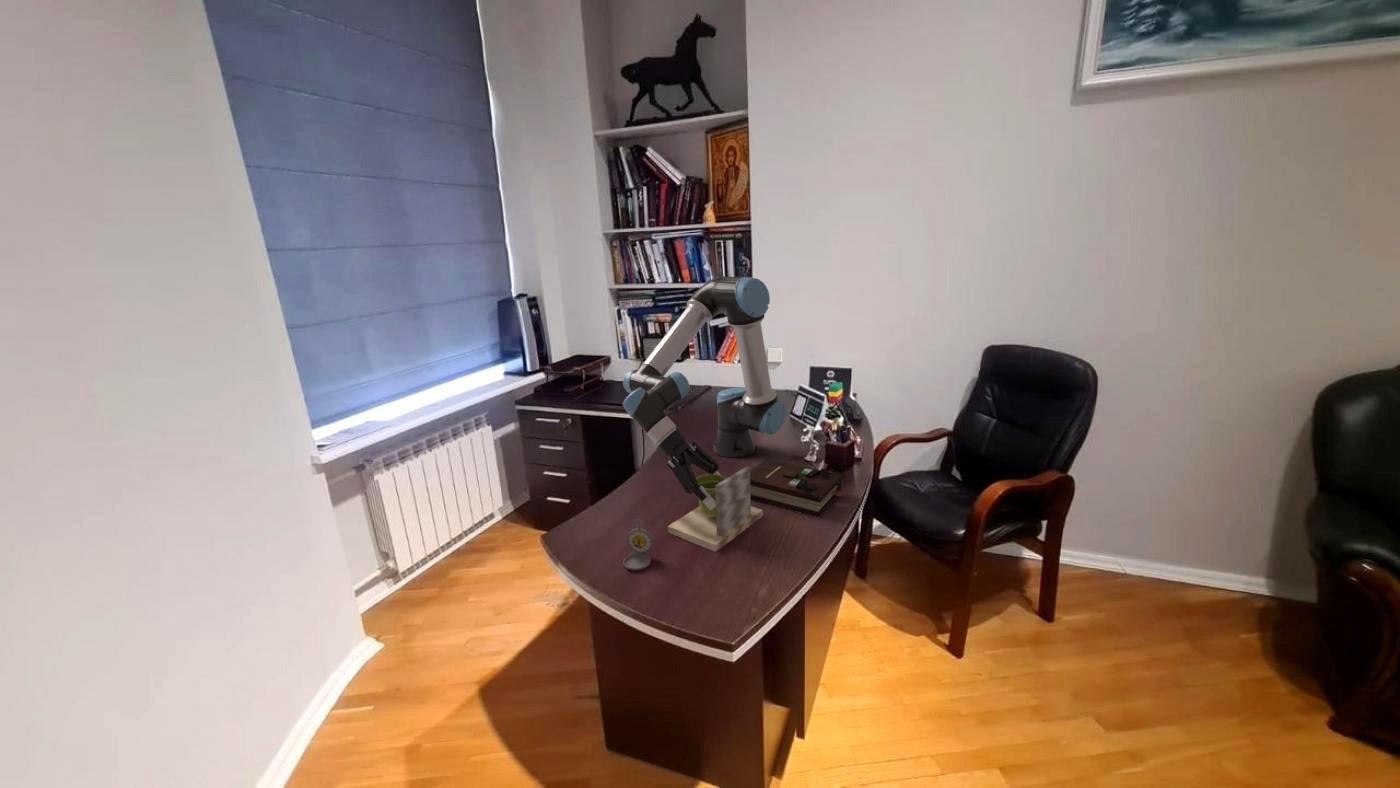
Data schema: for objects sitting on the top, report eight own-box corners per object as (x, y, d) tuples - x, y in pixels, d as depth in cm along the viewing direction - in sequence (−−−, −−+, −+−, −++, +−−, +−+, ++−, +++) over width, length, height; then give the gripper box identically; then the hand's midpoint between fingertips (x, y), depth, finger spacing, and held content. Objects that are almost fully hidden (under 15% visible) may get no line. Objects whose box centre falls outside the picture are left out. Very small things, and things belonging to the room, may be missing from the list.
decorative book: (761, 453, 178) (851, 472, 162) (761, 474, 181) (850, 495, 164) (731, 474, 163) (826, 498, 147) (731, 497, 165) (825, 523, 149)
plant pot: (695, 502, 154) (694, 474, 152) (728, 501, 154) (727, 473, 151) (693, 518, 145) (692, 489, 143) (729, 518, 145) (728, 488, 142)
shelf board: (717, 501, 163) (715, 451, 158) (762, 516, 153) (762, 463, 148) (668, 532, 146) (664, 478, 142) (715, 552, 137) (713, 494, 132)
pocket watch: (628, 574, 129) (624, 537, 126) (618, 556, 136) (615, 521, 133) (660, 565, 132) (658, 528, 129) (649, 548, 139) (647, 513, 136)
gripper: (677, 431, 161) (728, 489, 158) (638, 459, 142) (695, 525, 139) (693, 416, 157) (745, 475, 155) (655, 443, 138) (714, 510, 136)
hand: (721, 499), depth 147 cm, fingers closed on plant pot, 9 cm apart
